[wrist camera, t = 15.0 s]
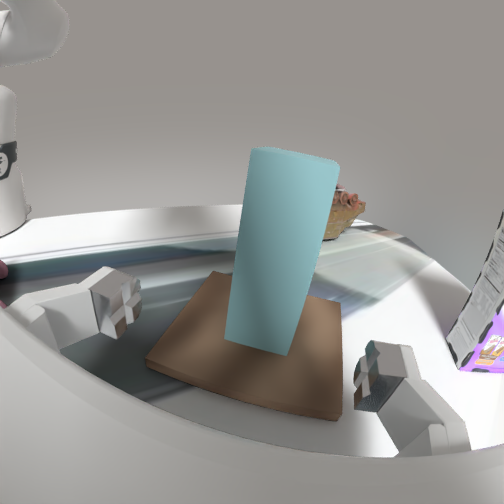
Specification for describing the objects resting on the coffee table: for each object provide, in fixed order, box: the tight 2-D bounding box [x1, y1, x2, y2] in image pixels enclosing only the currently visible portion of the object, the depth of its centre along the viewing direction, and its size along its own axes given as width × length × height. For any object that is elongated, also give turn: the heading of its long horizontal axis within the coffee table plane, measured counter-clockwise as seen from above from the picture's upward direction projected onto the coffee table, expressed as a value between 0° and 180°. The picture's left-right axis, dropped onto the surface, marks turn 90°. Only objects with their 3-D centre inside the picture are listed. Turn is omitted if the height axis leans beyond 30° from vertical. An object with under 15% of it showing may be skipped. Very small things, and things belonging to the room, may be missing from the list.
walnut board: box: [145, 271, 343, 421], centre depth 23 cm, size 14×14×1 cm
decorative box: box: [323, 184, 365, 240], centre depth 47 cm, size 13×20×10 cm, turn 115°
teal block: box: [224, 147, 340, 356], centre depth 19 cm, size 5×5×14 cm
